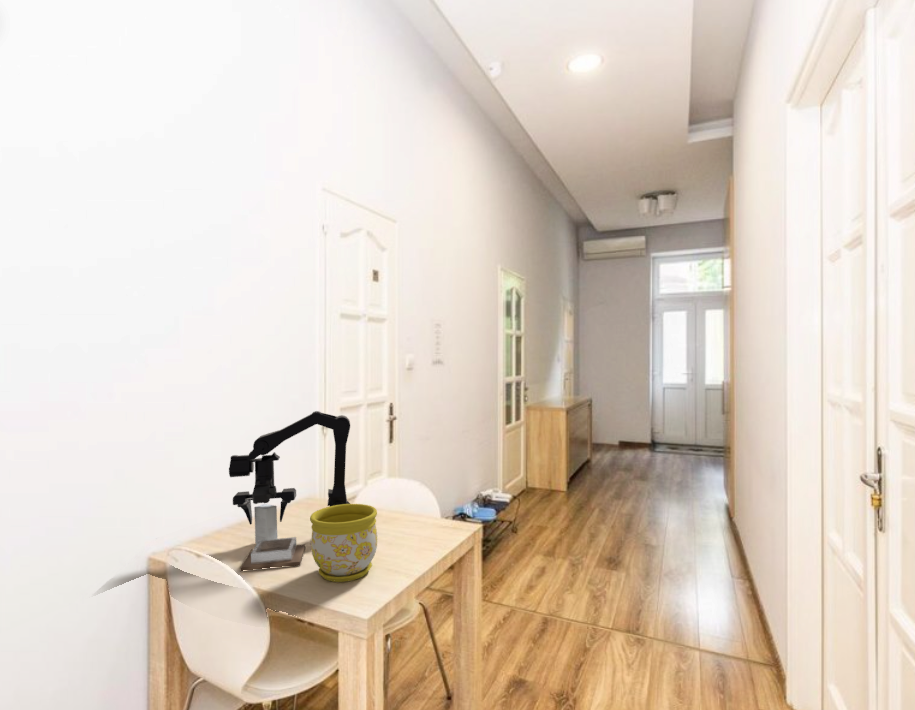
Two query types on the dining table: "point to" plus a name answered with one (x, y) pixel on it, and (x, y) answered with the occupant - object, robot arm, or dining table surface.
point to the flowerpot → (344, 541)
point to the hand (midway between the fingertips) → (266, 522)
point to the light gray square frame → (277, 554)
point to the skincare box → (265, 522)
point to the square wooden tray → (294, 562)
